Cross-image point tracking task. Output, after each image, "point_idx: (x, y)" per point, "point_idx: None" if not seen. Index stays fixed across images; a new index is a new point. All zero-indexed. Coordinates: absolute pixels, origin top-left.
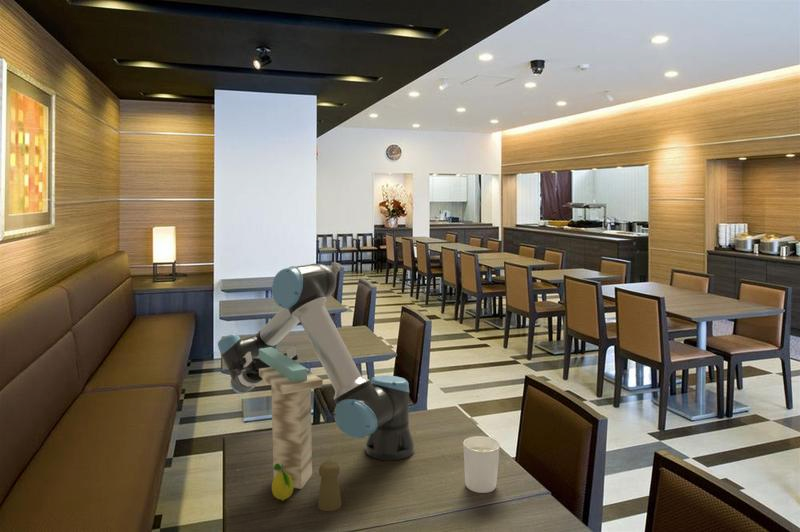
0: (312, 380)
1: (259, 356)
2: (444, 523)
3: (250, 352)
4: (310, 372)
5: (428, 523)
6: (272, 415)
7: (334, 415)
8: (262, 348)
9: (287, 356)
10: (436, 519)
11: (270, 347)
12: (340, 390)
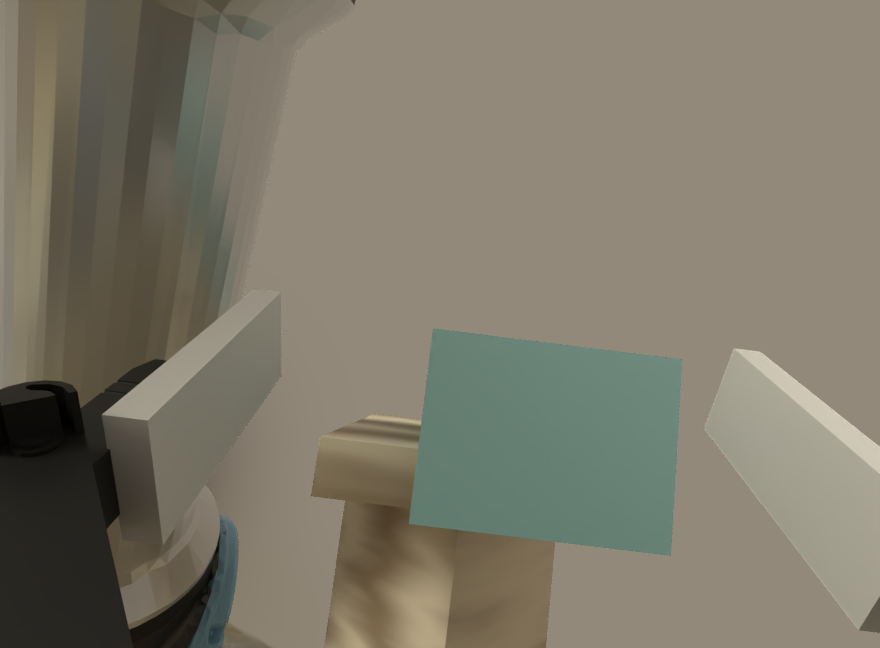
0: (411, 418)
1: (657, 493)
2: (232, 631)
3: (733, 357)
4: (363, 420)
5: (253, 642)
6: (543, 644)
7: (220, 643)
8: (609, 351)
9: (164, 488)
10: (229, 641)
11: (462, 335)
12: (204, 512)
